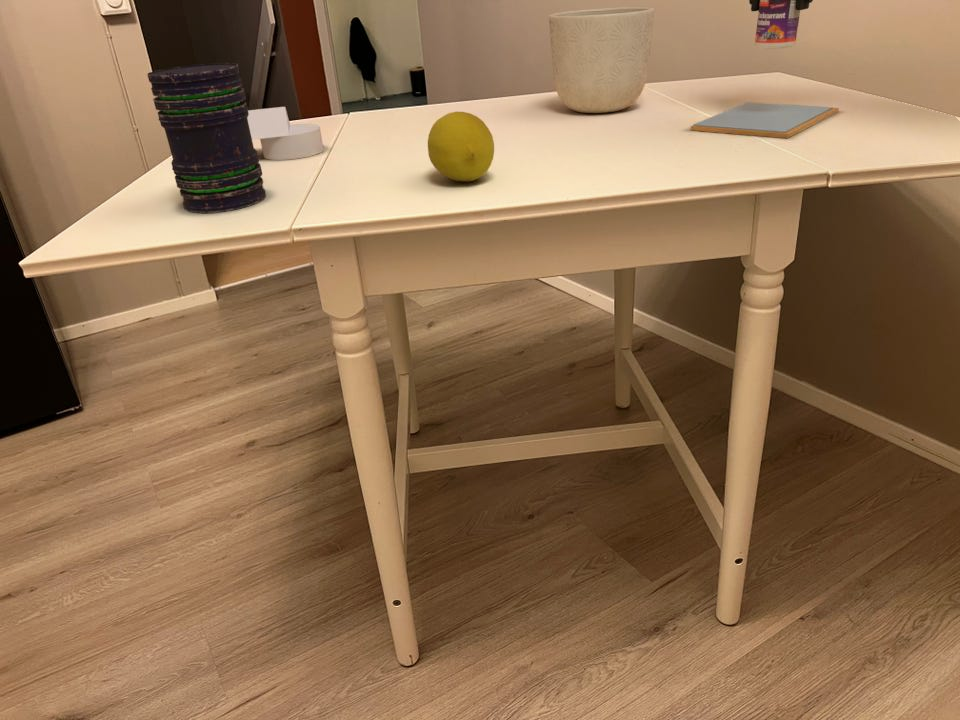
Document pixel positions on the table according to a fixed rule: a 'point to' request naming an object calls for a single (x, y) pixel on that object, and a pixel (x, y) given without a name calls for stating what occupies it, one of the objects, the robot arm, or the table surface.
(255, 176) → the storage jar
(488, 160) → the lemon
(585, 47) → the planter
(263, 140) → the wedge on round base
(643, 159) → the table surface
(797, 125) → the board
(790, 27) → the pill bottle
